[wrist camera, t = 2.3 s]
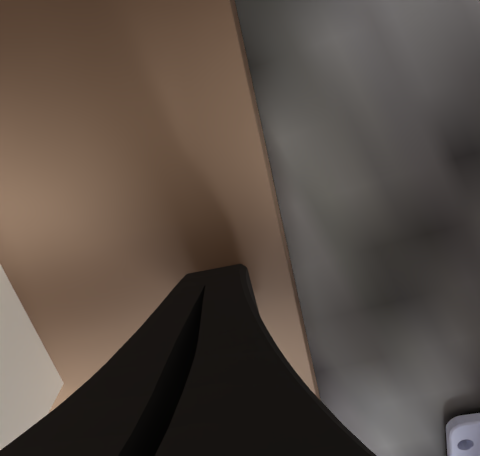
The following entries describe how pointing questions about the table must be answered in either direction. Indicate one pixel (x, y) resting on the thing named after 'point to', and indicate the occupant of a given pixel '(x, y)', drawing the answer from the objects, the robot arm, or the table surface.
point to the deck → (133, 172)
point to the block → (22, 369)
